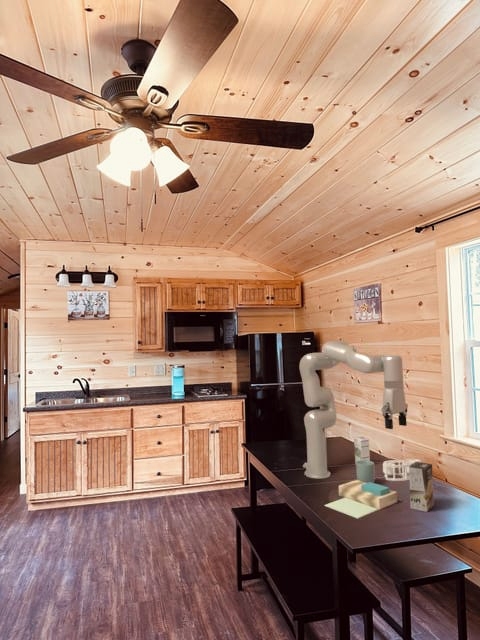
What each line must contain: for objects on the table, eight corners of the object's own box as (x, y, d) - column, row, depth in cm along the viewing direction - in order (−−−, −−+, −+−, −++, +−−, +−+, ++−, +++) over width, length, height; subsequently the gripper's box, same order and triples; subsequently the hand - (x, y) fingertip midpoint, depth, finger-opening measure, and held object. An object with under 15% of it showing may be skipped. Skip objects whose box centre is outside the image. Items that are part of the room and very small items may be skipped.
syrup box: (370, 466, 220) (369, 438, 221) (361, 468, 218) (360, 439, 219) (363, 463, 225) (362, 436, 226) (354, 465, 223) (353, 437, 224)
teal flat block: (361, 490, 174) (361, 485, 174) (370, 486, 178) (370, 482, 178) (380, 496, 167) (380, 491, 167) (389, 492, 171) (389, 487, 171)
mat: (324, 506, 169) (324, 505, 169) (344, 498, 176) (344, 497, 176) (357, 518, 156) (357, 517, 156) (378, 510, 163) (378, 509, 163)
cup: (363, 488, 188) (362, 465, 189) (353, 482, 195) (353, 460, 196) (378, 486, 190) (377, 463, 191) (368, 481, 198) (367, 459, 198)
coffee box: (427, 512, 160) (425, 469, 161) (410, 508, 164) (408, 466, 165) (434, 505, 167) (432, 463, 168) (417, 501, 171) (415, 461, 172)
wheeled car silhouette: (416, 472, 210) (415, 457, 210) (428, 479, 199) (428, 463, 199) (377, 474, 207) (377, 459, 208) (388, 481, 196) (387, 465, 197)
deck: (338, 495, 180) (338, 485, 180) (356, 489, 187) (356, 479, 187) (379, 509, 164) (379, 499, 164) (397, 502, 171) (396, 491, 171)
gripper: (397, 383, 184) (399, 423, 183) (373, 386, 173) (375, 428, 172) (413, 384, 178) (415, 425, 177) (389, 387, 167) (391, 431, 166)
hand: (396, 427), depth 175 cm, fingers open, 9 cm apart
